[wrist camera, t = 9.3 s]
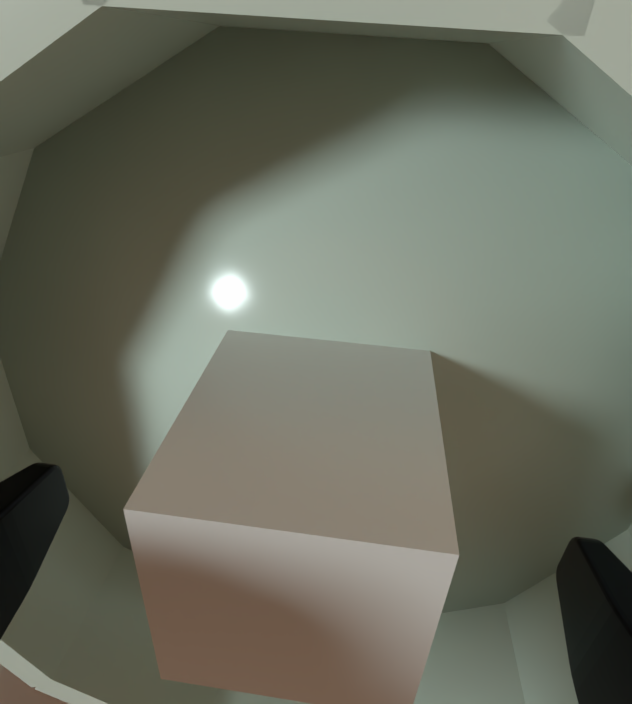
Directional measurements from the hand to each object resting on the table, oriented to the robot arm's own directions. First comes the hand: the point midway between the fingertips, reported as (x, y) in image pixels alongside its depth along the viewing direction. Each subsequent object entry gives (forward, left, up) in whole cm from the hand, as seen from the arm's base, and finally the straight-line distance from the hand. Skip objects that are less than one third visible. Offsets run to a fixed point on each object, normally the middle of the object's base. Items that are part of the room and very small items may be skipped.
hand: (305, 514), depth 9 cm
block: (0, 0, -2) cm, 3 cm away
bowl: (0, 0, -3) cm, 3 cm away
